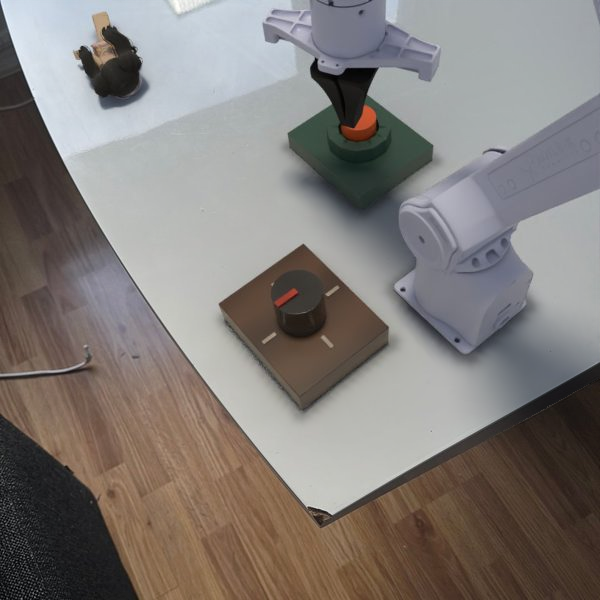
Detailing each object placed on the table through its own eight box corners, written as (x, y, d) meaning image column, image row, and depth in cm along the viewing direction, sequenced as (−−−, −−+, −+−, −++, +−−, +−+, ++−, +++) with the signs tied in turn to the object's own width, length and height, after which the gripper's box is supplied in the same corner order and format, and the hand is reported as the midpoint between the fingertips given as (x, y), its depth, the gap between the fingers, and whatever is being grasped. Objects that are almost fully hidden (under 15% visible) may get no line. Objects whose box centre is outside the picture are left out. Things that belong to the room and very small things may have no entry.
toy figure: (67, 48, 86) (102, 113, 78) (52, 2, 81) (88, 67, 73) (120, 33, 88) (159, 95, 80) (108, -13, 82) (149, 49, 75)
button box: (432, 159, 70) (435, 132, 66) (360, 210, 67) (360, 185, 64) (358, 102, 75) (357, 74, 72) (289, 147, 73) (285, 120, 69)
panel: (388, 342, 60) (389, 326, 57) (302, 410, 57) (299, 396, 54) (306, 260, 65) (303, 241, 62) (224, 319, 62) (217, 302, 60)
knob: (305, 284, 60) (301, 258, 56) (336, 316, 58) (333, 291, 54) (267, 312, 59) (259, 287, 55) (296, 346, 57) (291, 322, 53)
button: (383, 129, 68) (383, 117, 66) (356, 147, 67) (356, 135, 66) (360, 111, 70) (360, 99, 68) (334, 129, 69) (333, 116, 67)
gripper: (234, -4, 48) (261, 129, 60) (422, 39, 44) (411, 173, 56) (277, -59, 51) (294, 78, 63) (457, -24, 47) (439, 116, 59)
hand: (351, 119), depth 60 cm, fingers closed
